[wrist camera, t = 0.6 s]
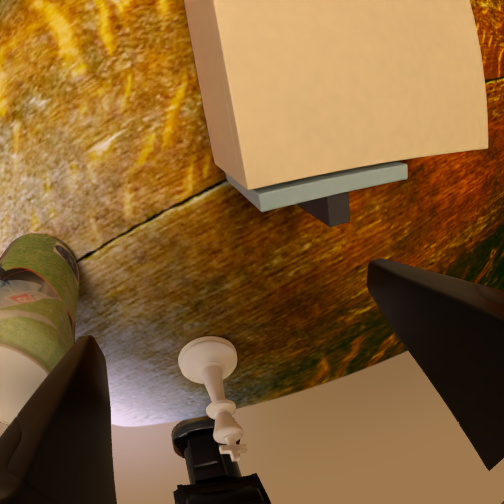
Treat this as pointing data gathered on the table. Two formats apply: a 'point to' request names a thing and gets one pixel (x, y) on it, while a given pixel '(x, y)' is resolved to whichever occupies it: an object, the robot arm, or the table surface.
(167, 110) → the table surface
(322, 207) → the closet door
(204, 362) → the chess piece
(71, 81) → the table surface
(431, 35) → the box
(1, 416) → the beverage can
